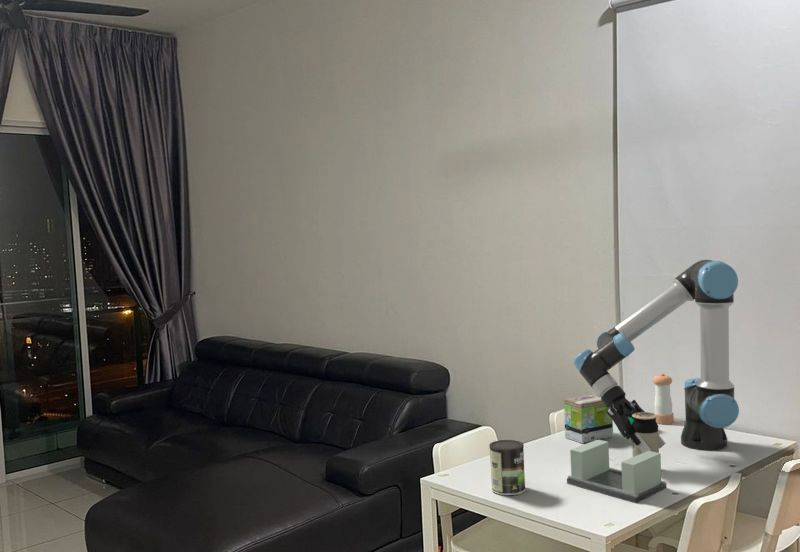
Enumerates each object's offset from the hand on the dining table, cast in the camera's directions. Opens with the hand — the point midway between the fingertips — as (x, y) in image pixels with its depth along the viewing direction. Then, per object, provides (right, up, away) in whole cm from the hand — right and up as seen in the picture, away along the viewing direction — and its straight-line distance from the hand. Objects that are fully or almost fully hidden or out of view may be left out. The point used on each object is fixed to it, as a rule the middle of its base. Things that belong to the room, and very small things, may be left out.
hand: (655, 449), depth 230 cm
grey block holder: (-15, -7, -9) cm, 19 cm away
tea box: (-10, -6, +42) cm, 44 cm away
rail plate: (-15, -9, -8) cm, 19 cm away
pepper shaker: (+23, -3, +57) cm, 61 cm away
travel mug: (-2, -8, +3) cm, 8 cm away
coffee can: (-47, -11, -7) cm, 49 cm away
